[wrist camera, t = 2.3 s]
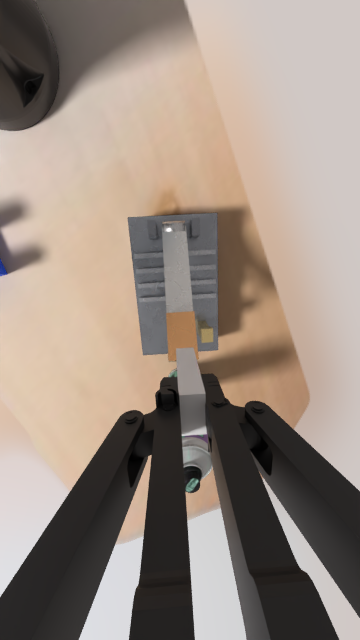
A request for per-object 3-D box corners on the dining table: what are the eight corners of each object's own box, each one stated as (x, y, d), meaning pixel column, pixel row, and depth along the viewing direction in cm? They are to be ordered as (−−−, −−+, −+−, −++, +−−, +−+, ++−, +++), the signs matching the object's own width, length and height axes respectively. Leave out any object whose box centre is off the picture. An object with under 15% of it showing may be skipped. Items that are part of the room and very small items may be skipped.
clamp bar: (162, 228, 28) (160, 213, 25) (184, 227, 28) (185, 212, 25) (169, 362, 24) (168, 360, 21) (196, 360, 24) (198, 358, 21)
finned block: (134, 223, 33) (121, 210, 24) (210, 219, 33) (224, 205, 25) (146, 343, 38) (139, 366, 30) (212, 338, 39) (223, 360, 30)
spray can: (166, 391, 41) (162, 505, 22) (169, 365, 40) (167, 465, 20) (193, 393, 41) (213, 507, 22) (197, 368, 40) (222, 467, 21)
